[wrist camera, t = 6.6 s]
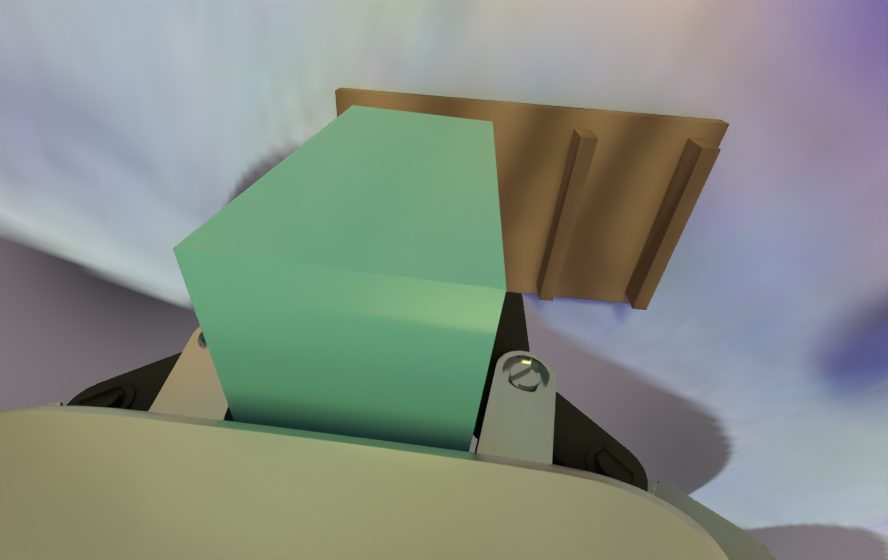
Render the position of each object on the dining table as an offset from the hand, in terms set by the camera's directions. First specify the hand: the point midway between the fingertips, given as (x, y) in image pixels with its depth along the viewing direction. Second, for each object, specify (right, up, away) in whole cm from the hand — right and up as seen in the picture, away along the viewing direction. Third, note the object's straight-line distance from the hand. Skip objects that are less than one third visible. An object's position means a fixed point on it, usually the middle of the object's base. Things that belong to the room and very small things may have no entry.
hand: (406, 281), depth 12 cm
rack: (+6, +5, +17) cm, 19 cm away
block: (0, +1, +2) cm, 2 cm away
